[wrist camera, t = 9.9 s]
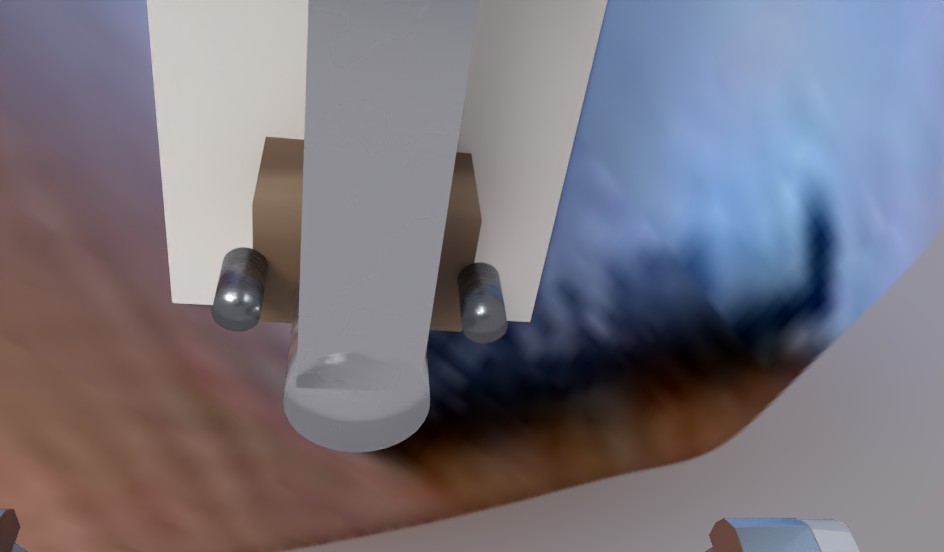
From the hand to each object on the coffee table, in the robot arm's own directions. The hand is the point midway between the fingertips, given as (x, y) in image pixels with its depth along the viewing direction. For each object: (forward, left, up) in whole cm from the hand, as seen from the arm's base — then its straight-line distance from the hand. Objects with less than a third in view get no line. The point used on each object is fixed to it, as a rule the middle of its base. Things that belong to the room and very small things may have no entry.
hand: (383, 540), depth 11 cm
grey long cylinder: (0, 0, -13) cm, 13 cm away
